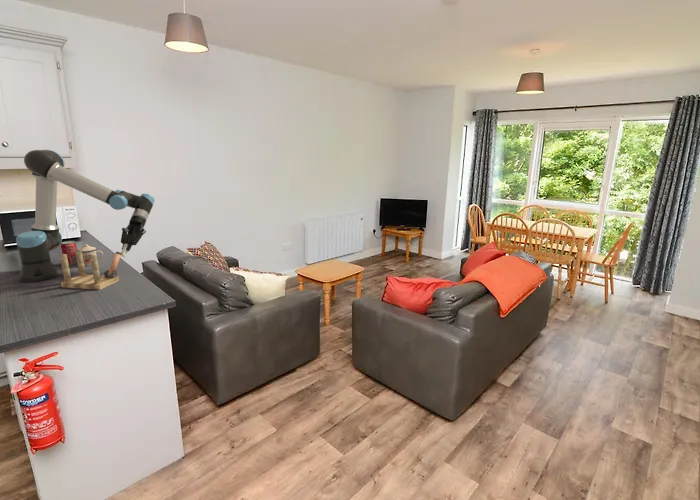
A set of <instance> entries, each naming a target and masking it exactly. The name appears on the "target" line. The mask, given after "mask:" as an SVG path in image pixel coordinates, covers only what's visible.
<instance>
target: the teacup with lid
mask: <svg viewBox="0 0 700 500" xmlns="http://www.w3.org/2000/svg"><path fill="white" fill-rule="evenodd" d="M79 249H81V250H82V256H83V261H84V267H90V266H91V267H92V264H91V258H90V256H94V255H96V256H97V260H100V259H102V258H103V256H104V252H103V251H101V250H97V248H96V247H94V246H90V245H89V244H87V243H86V244H84V245H83V246H82V247H80V248H79ZM97 253H100V254H101V255H100V256H99V257H98V255H97Z"/></svg>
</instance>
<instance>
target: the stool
mask: <svg viewBox="0 0 700 500" xmlns="http://www.w3.org/2000/svg"><path fill="white" fill-rule="evenodd" d="M75 252H76V258H77V264H76V265H77V270H78V274H79V275H77V276H74V277H71V272H70V271H71V270H70V265H68V259H67V254H62V253H60V254H59V257H60V259H59V260H60V264H61V268H62V269H61V270H62V274H63V280H64V281H62V282H60V285H61V288H66V289H80V290H81V289H85V290H102V289H104V288H107V287H108V286H110V285H114V284H115V283H117V282H119V281H120V278H119V277H120V276H119V275H118V270H115V271H114V272H112V277H109V276H107V275H106V274H107V272H109V269H108V270H105V271H104V272H103V274H100V273H101V272H100V267H99V261H98V260H99V259H97V258H98V255H97V256H96V255H94V256H90V258H91V264H92V265H91V270H92V274H89V273H87V274H86V268H85V267H86V266H84V261H83V256H82V250H81V249H80V248H77V250H75Z"/></svg>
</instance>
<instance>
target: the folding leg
mask: <svg viewBox="0 0 700 500" xmlns="http://www.w3.org/2000/svg"><path fill="white" fill-rule="evenodd" d="M121 254H122V253H121V251H115V253H114V256H113V259H112V262H111V264H110V267H109V269H108V270H109V272H107V274H106V275H107V276H109V277H112V272H114V271H117V267H118V265H119V262H120V260H121V259H120V258H121V257H122V256H121Z"/></svg>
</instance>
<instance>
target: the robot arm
mask: <svg viewBox="0 0 700 500" xmlns="http://www.w3.org/2000/svg"><path fill="white" fill-rule="evenodd" d="M23 162H24V165H25V168H27V170H29V171H30V172H32V173H31V176H33V177H34V178H35V213H34V217H35V220H34V221H35V222H34V224H32V225H31V227H30V228H31V230H29V231H26V232H22V233H20V234H18V235H17V236H16V238H15V239H16V246H17V251H18V255H19V259H20V264H21V267H20V274H19V281H20V282H23V283H33V282H34V283H35V282H41V281H46V280H51V279H53V278H55V277H57V276H58V275H59V274H58V270H57V269H56V267H55V266H54V263H52V260H51V254H50V252H51V251H54V250H55V249H57V248H58V247H59V246H61V243H62V242H63V236H62V233H61V232H60V226H58V225H57V199H58V198H57V195H58V182H59V183H61V184H63V185H65V186H67V187H69V188H72V189H74V190H76V191H79V192H81V193H82V194H85V195H87V196H89V197H92V198H94V199H96V200H98V201H101V202H102V203H105V204H107V205H109V206H110V207H111V208H112V209H113V210H117V211H120V210H123V209H126V208H127V207H129V208H132V209H134V210H133V212H132V214H131V217H130V219H129V222H128V225H127V226H126V227H122V228H121V238H120V243H121V244H122V247H121V251H120V252H121V253H122V254H121V256H120V257H123V258H127V255H128V253H129V252H130V250H131V248H132V247H133V246H136V245H137V244H138V243H139V241H140V240H141V239H142V237H143V236H144V235H145V234H146V233H147V230H145V228H144V227H145V226H146V223H147V221H148V217H149V215H150V214H151V210H152V208H153V207H154V203H155V198H154V196H153V195H151V194H149V193H142V194H140V195H137V194H134V193H131V192H129V191H128V192H127V191H125V190H121V189H116V190H113V189H111V188H109V187H106V186H104V185H102V184H101V183H98V182H96V181H94V180H92V179H90V178H87V177H85V176H83V175H81V174H79V173H77V172H74V171H73V170H71V169H68V168H66V167H65V160H64V158H63V157H62V155H61V154H59V153H58V152H57V151H54V150H50V149H34V150H30V151H28V152H27V153H26V154H25V155H24V159H23Z"/></svg>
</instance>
